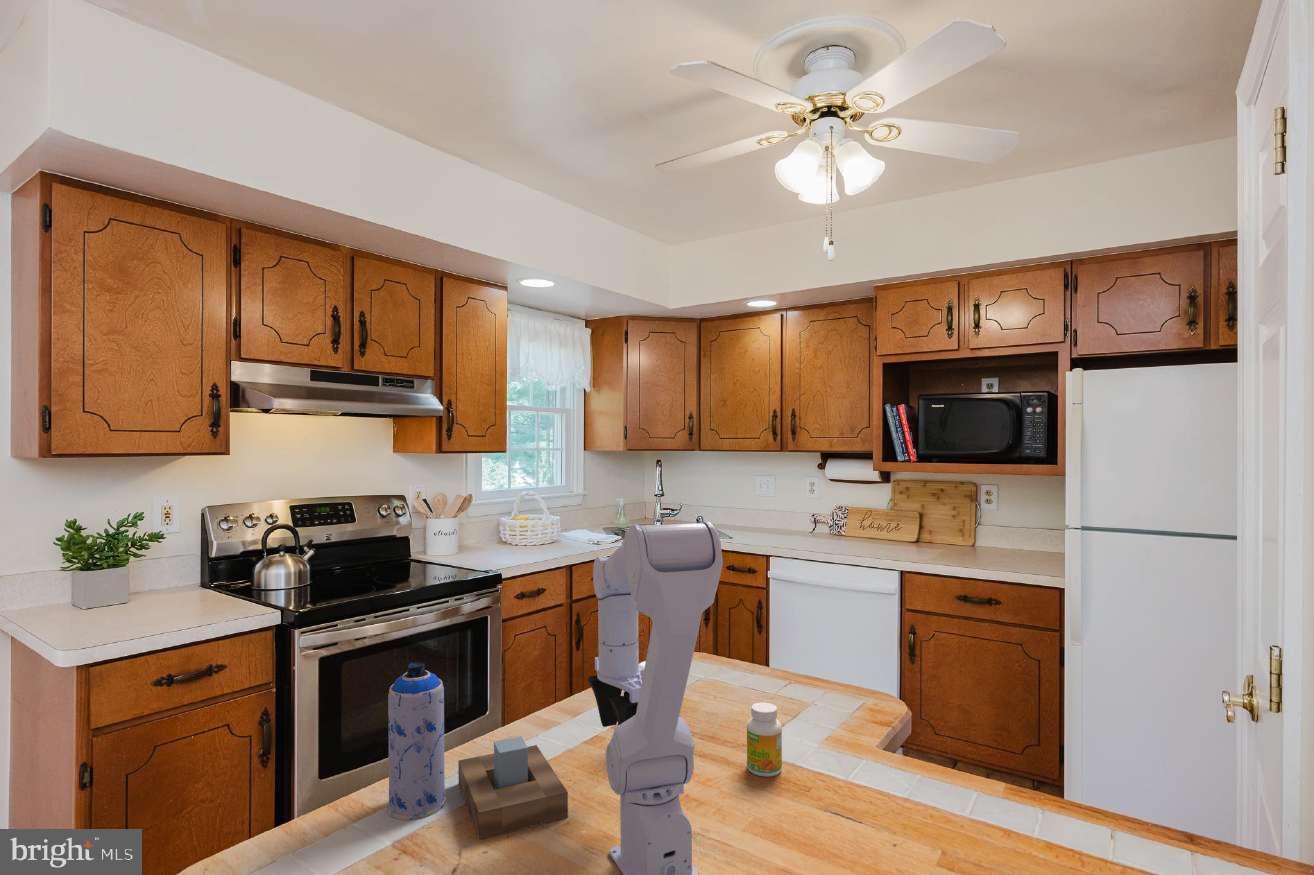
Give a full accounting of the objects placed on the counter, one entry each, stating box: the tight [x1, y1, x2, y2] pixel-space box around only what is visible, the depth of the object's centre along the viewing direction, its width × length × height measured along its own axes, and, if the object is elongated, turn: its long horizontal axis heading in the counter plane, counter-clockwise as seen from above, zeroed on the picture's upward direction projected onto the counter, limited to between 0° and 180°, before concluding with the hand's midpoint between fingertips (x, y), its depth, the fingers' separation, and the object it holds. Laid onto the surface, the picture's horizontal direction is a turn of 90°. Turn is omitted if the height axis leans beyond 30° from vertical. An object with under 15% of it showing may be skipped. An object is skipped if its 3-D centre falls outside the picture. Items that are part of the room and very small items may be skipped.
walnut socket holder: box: [457, 744, 569, 840], centre depth 101 cm, size 16×12×4 cm
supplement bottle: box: [746, 702, 783, 777], centre depth 110 cm, size 5×5×10 cm
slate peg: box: [493, 736, 529, 790], centre depth 101 cm, size 4×4×8 cm
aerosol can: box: [387, 661, 447, 821], centre depth 100 cm, size 8×8×20 cm
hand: (618, 735), depth 100 cm, fingers open, 7 cm apart
